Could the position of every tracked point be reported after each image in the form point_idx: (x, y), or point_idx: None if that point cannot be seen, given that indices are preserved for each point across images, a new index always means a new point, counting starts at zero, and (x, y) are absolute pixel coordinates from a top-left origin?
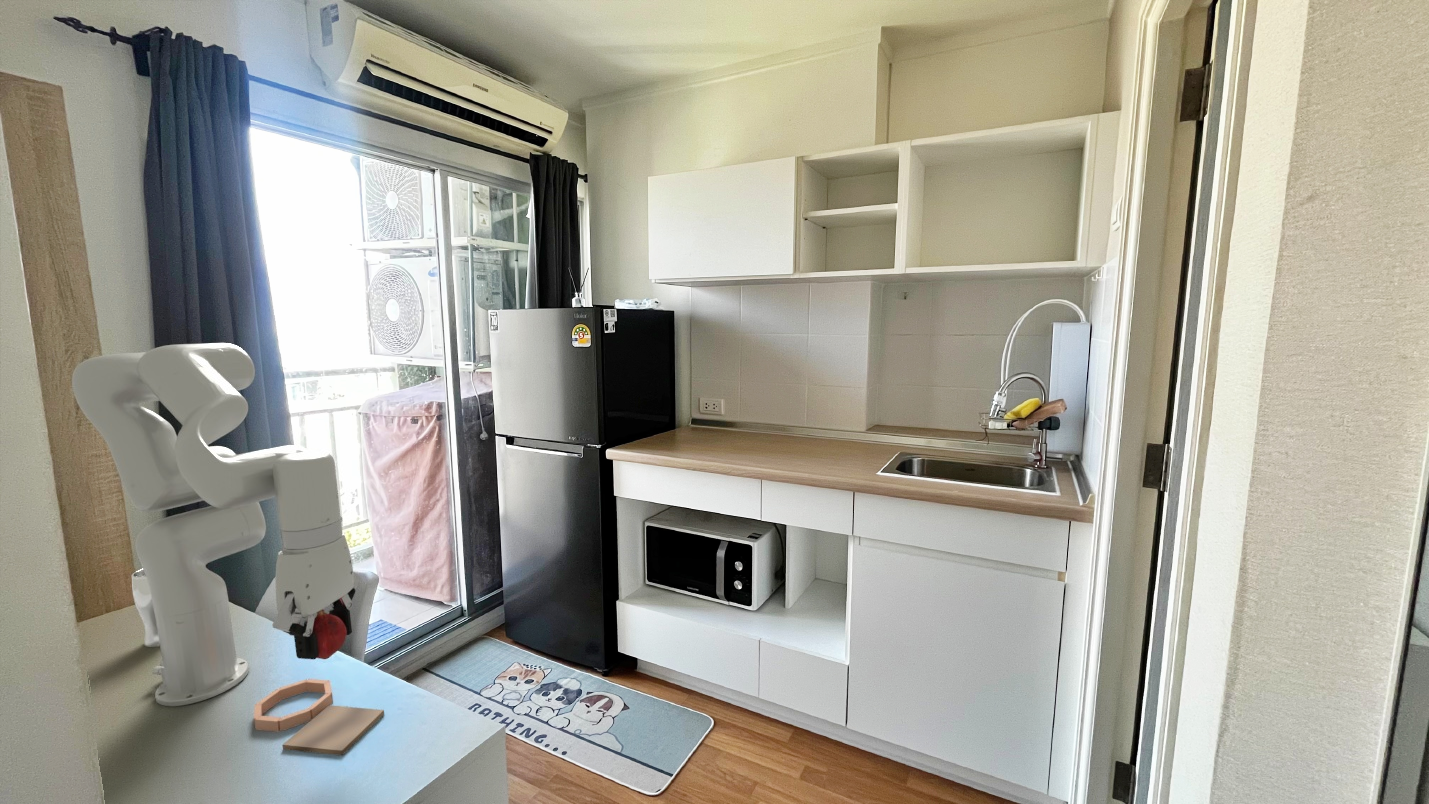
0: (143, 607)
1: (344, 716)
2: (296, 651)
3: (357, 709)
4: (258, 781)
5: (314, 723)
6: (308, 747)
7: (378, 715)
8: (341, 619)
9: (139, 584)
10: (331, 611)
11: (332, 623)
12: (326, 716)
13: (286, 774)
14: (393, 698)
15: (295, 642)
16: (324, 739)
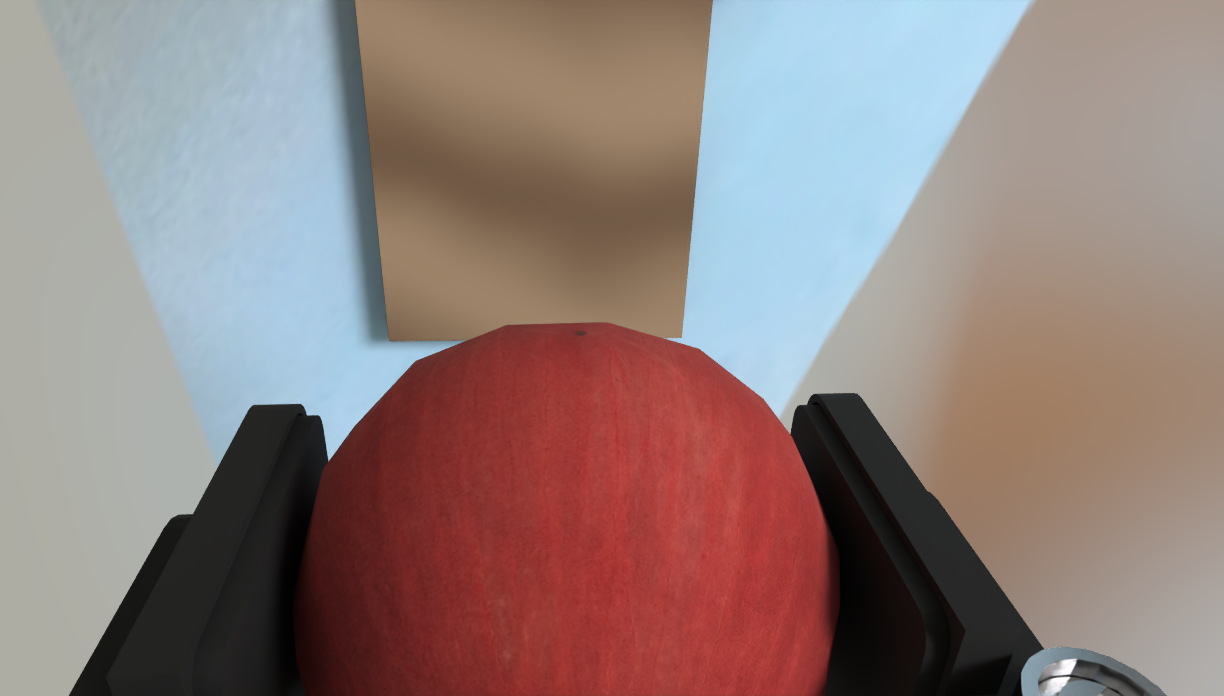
0: None
1: (619, 170)
2: (158, 538)
3: (681, 199)
4: (131, 45)
5: (548, 32)
6: (371, 157)
7: None
8: (840, 691)
9: None
10: (949, 654)
11: None
12: (610, 62)
13: (218, 158)
14: (800, 289)
15: (97, 650)
16: (437, 200)
